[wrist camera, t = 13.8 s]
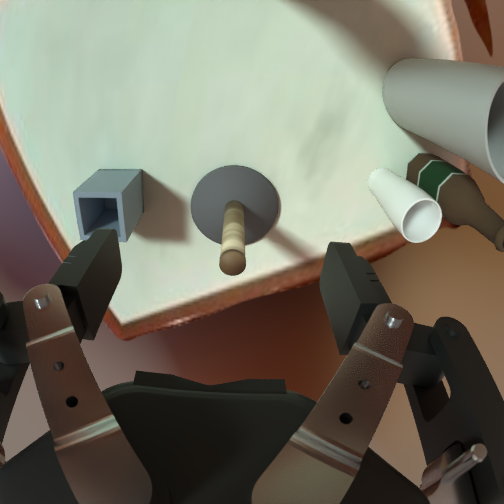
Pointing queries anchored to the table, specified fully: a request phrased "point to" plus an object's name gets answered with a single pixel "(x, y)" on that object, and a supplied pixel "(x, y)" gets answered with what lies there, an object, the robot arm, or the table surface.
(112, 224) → the deep cup
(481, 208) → the beer bottle
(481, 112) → the cylinder vase
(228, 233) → the beech dowel
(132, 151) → the table surface
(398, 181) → the drinking glass
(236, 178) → the gray disc
